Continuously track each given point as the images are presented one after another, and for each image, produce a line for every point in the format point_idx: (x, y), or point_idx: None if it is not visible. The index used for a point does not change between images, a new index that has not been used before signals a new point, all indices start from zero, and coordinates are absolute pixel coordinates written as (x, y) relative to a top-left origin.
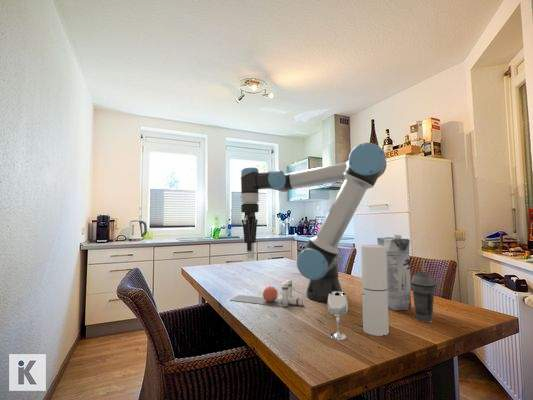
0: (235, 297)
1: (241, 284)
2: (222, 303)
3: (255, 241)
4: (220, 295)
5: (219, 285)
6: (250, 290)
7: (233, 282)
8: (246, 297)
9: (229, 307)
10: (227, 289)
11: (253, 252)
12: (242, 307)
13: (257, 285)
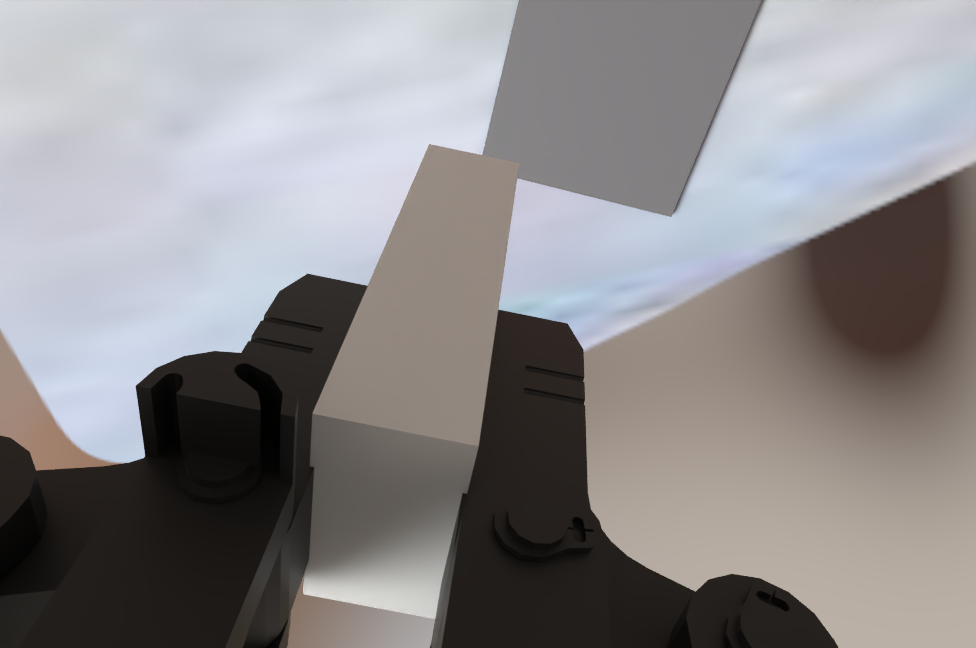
0: (580, 183)
1: (55, 223)
2: (758, 260)
3: (238, 398)
4: None
5: None
6: (257, 74)
7: (20, 314)
8: (571, 64)
9: (895, 172)
10: None
11: (439, 220)
12: (920, 39)
13: (5, 25)
